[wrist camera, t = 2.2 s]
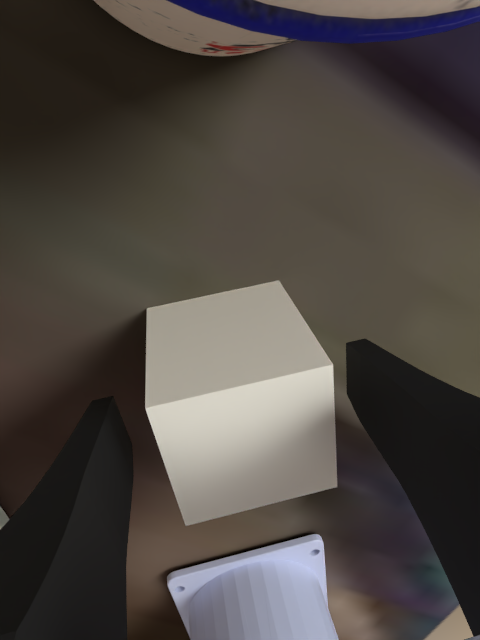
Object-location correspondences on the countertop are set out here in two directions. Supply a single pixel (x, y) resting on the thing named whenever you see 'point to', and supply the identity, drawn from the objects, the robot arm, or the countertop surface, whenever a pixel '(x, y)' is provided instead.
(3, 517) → the plate
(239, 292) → the cream block
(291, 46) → the countertop surface
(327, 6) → the teacup with lid
